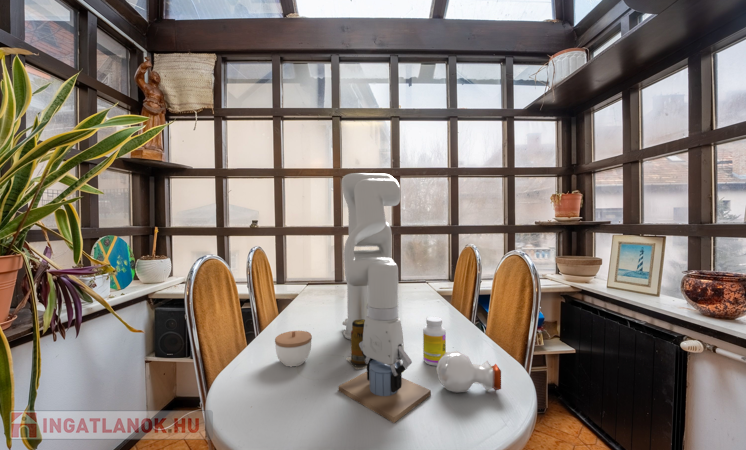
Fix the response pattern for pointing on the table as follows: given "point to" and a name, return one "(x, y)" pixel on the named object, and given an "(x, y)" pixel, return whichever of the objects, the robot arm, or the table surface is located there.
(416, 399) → the post base
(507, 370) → the table surface
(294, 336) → the lidded jar
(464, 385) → the potion bottle
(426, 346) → the supplement bottle
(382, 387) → the cap
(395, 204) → the robot arm
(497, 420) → the table surface
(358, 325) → the condiment
